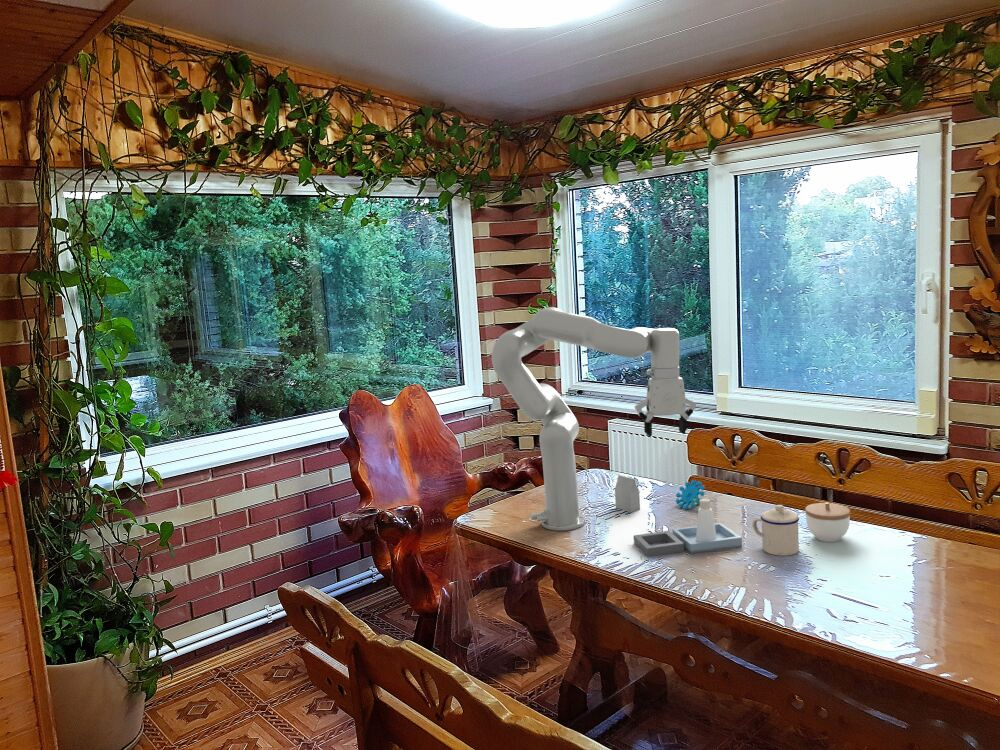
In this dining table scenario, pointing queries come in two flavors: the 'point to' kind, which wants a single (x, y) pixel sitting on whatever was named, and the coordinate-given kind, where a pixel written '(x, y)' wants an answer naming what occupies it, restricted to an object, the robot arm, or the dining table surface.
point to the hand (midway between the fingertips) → (665, 434)
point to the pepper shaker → (705, 522)
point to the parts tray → (723, 541)
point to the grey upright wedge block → (627, 494)
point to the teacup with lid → (778, 531)
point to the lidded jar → (827, 521)
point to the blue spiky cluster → (690, 494)
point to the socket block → (671, 547)
